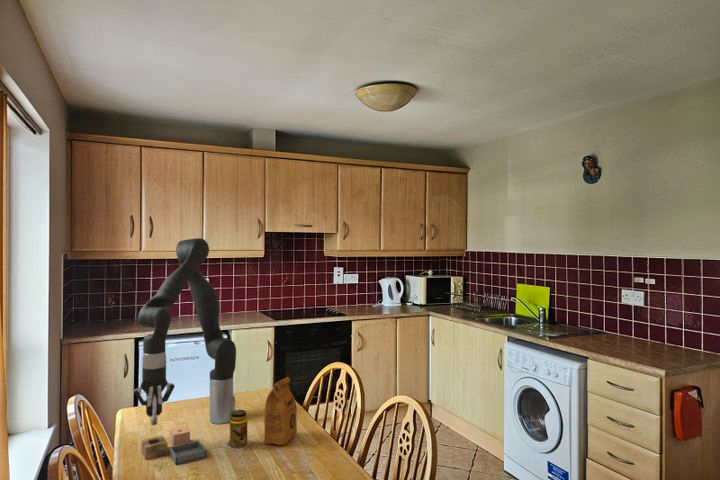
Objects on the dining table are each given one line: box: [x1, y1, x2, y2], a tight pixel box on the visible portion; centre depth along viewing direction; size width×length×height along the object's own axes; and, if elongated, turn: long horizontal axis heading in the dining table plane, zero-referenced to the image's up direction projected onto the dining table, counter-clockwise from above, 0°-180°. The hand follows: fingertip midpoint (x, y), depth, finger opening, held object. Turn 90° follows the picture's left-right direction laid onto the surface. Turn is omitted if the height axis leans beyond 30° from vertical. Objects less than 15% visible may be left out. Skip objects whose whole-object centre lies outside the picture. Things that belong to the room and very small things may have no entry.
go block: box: [140, 435, 168, 460], centre depth 167 cm, size 7×7×4 cm
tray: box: [168, 440, 207, 466], centre depth 165 cm, size 10×9×2 cm
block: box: [169, 426, 191, 447], centre depth 174 cm, size 6×6×5 cm
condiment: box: [220, 409, 252, 451], centre depth 174 cm, size 7×8×12 cm
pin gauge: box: [150, 395, 159, 426], centre depth 167 cm, size 2×2×10 cm
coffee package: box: [263, 376, 298, 446], centre depth 178 cm, size 10×12×22 cm
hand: (154, 415), depth 167 cm, fingers closed on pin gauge, 2 cm apart
